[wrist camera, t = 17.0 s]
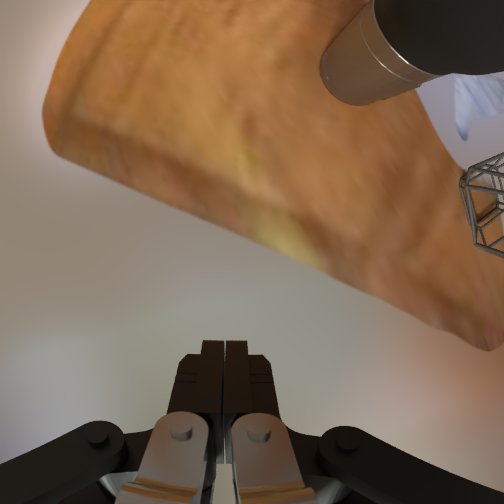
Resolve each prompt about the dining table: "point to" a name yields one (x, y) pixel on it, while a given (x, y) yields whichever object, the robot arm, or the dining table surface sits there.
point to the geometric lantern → (477, 168)
